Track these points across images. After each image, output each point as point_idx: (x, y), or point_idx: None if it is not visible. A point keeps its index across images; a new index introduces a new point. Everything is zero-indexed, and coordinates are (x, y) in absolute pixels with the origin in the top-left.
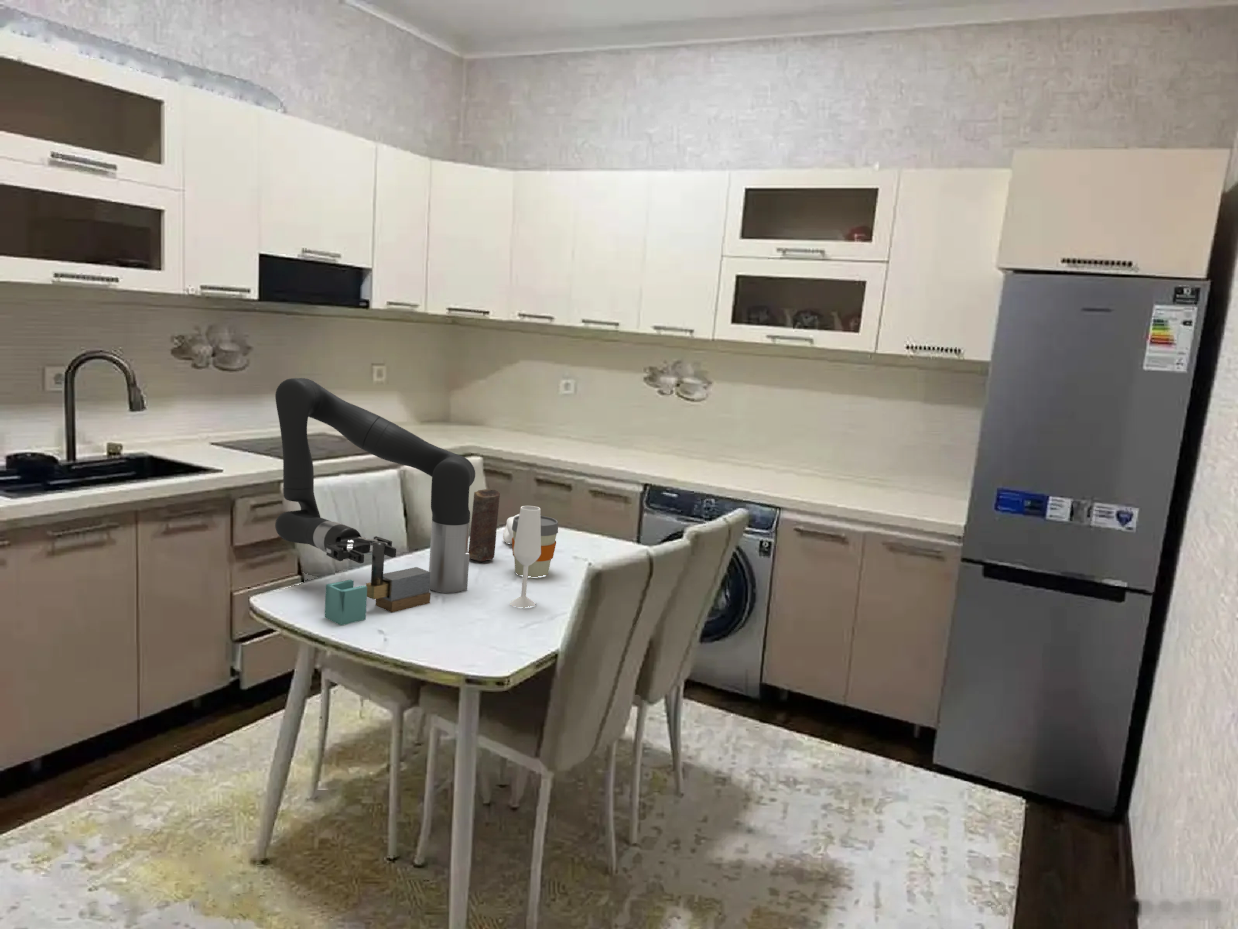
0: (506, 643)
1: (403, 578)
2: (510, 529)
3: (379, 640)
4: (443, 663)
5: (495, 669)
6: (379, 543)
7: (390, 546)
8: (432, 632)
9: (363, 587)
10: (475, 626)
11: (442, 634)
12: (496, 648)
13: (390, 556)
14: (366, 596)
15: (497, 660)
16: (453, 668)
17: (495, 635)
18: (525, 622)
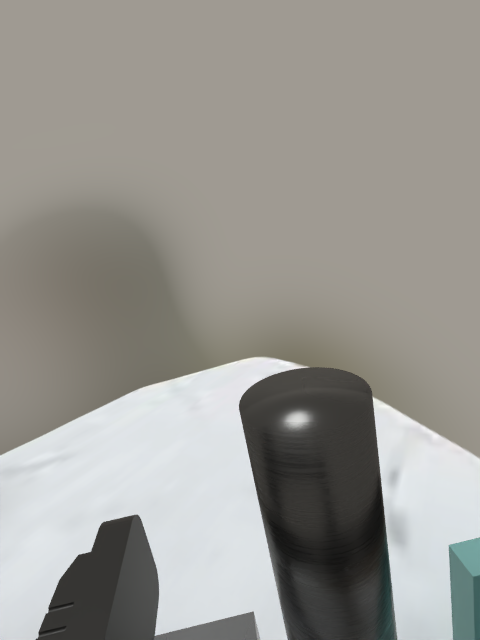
0: (162, 414)
1: (156, 637)
2: None
3: (413, 476)
4: None
5: (250, 366)
6: (306, 380)
7: (86, 592)
8: (249, 483)
9: (475, 541)
10: (130, 486)
11: (235, 468)
12: (194, 404)
13: (154, 622)
14: (453, 593)
15: (227, 380)
16: None
17: (144, 441)
18: (27, 476)
